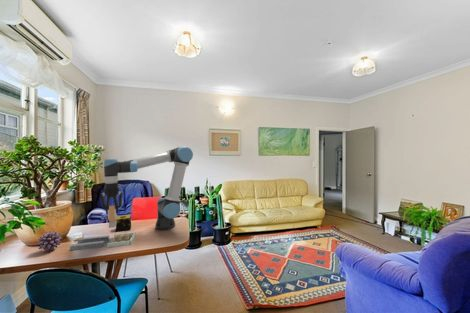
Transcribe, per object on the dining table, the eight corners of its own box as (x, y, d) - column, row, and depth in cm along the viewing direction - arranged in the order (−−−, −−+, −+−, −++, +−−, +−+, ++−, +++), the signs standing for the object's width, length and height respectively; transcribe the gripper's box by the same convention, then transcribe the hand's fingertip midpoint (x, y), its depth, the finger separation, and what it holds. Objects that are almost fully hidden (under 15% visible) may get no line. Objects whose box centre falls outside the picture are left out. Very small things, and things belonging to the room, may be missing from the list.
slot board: (114, 239, 142) (114, 234, 142) (108, 248, 128) (107, 242, 128) (80, 243, 136) (80, 237, 136) (69, 252, 123) (69, 246, 123)
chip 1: (122, 240, 139) (122, 234, 139) (121, 242, 135) (121, 236, 135) (116, 241, 138) (115, 235, 138) (114, 243, 134) (114, 237, 134)
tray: (135, 236, 146) (135, 232, 146) (130, 245, 131) (130, 240, 131) (114, 239, 143) (114, 234, 143) (107, 248, 127) (107, 243, 127)
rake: (116, 224, 139) (116, 204, 139) (114, 227, 133) (113, 206, 133) (111, 225, 138) (110, 205, 138) (108, 227, 132) (108, 207, 132)
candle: (131, 226, 169) (131, 214, 169) (130, 230, 160) (130, 217, 160) (116, 228, 165) (116, 215, 165) (115, 232, 156) (115, 219, 156)
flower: (39, 257, 118) (39, 235, 118) (34, 251, 125) (34, 231, 125) (65, 249, 127) (64, 230, 127) (59, 245, 134) (59, 226, 134)
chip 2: (129, 239, 140) (129, 233, 140) (128, 241, 136) (128, 235, 136) (123, 240, 139) (122, 234, 139) (121, 242, 135) (121, 236, 135)
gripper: (126, 181, 141) (127, 216, 141) (99, 182, 137) (100, 218, 137) (123, 182, 134) (124, 219, 134) (95, 184, 130) (96, 222, 130)
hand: (112, 218), depth 135 cm, fingers closed on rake, 3 cm apart
